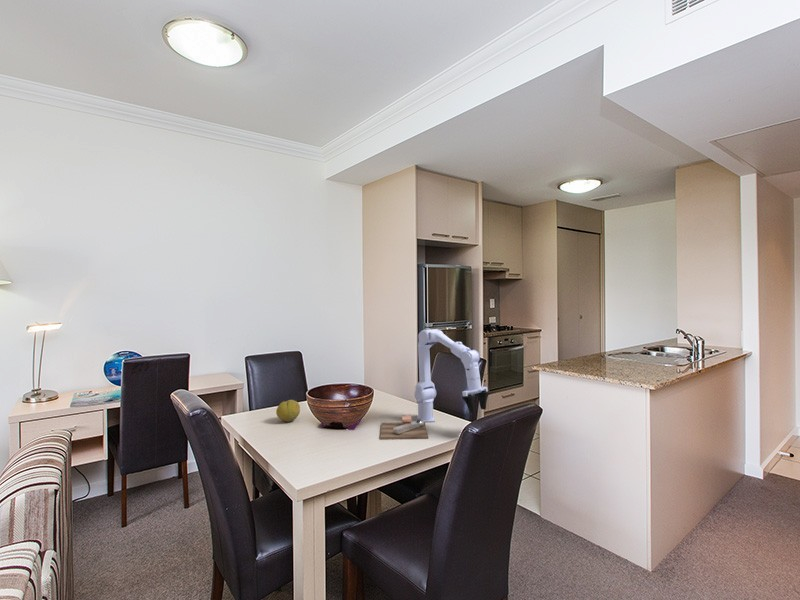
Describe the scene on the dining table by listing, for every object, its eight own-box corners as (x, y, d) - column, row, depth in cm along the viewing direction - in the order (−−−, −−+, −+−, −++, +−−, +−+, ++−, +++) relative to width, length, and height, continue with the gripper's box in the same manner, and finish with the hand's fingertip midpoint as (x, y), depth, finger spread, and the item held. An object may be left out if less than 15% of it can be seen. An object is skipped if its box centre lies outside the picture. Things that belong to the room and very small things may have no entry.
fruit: (305, 420, 199) (305, 400, 199) (284, 426, 190) (283, 404, 190) (293, 416, 207) (293, 396, 207) (271, 421, 198) (271, 400, 198)
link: (418, 423, 189) (418, 419, 189) (425, 425, 186) (425, 420, 186) (392, 432, 176) (392, 427, 176) (399, 434, 174) (399, 429, 174)
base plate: (381, 424, 191) (381, 422, 191) (424, 424, 192) (424, 421, 192) (380, 439, 171) (380, 437, 171) (428, 438, 172) (428, 436, 172)
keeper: (420, 423, 190) (420, 414, 190) (421, 427, 183) (421, 419, 183) (402, 423, 190) (402, 415, 190) (402, 428, 183) (402, 419, 183)
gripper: (469, 380, 169) (474, 414, 167) (491, 376, 178) (495, 408, 177) (456, 381, 174) (461, 413, 172) (478, 376, 184) (482, 407, 182)
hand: (477, 410), depth 175 cm, fingers open, 7 cm apart
